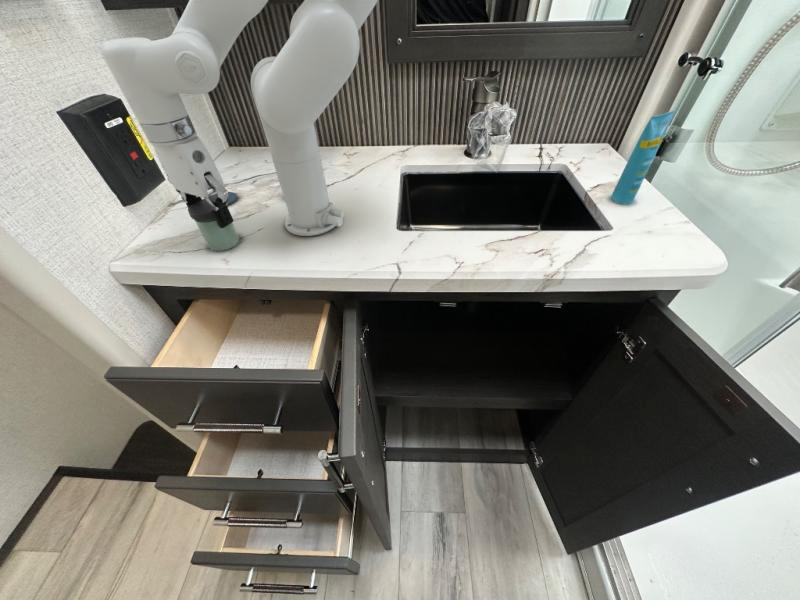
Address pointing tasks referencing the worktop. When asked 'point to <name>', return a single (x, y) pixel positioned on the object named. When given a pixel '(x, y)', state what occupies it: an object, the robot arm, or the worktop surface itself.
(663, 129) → the tube
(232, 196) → the coaster
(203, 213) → the lid
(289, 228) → the robot arm
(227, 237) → the jar
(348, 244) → the worktop surface
